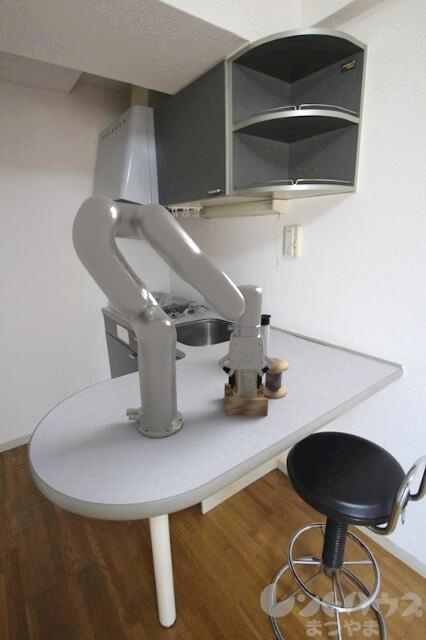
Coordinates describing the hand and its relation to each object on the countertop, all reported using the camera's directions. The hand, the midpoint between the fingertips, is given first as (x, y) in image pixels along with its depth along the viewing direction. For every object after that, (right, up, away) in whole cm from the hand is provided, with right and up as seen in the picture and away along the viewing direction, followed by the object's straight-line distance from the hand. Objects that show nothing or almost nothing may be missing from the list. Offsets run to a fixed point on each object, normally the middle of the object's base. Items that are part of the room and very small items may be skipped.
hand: (244, 386), depth 93 cm
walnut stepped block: (0, -6, +2) cm, 7 cm away
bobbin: (+10, -4, +11) cm, 15 cm away
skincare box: (0, -3, +1) cm, 3 cm away
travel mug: (+9, +2, +32) cm, 33 cm away
